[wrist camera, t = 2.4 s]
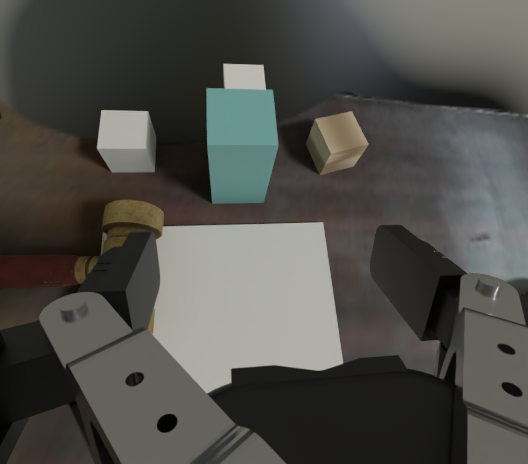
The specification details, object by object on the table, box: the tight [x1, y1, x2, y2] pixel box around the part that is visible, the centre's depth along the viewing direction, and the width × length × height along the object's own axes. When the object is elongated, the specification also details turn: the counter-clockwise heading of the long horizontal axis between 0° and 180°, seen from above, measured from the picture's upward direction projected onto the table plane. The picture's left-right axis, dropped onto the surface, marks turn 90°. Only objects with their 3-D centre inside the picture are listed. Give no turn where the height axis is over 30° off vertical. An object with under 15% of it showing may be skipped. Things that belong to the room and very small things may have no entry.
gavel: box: [0, 200, 164, 334], centre depth 25 cm, size 21×5×10 cm
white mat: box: [101, 222, 343, 393], centre depth 28 cm, size 20×14×1 cm
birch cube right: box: [306, 111, 369, 175], centre depth 33 cm, size 4×4×4 cm
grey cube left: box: [97, 110, 157, 172], centre depth 31 cm, size 4×4×4 cm
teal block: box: [206, 88, 278, 204], centre depth 28 cm, size 5×5×10 cm
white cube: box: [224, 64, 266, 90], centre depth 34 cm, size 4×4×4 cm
